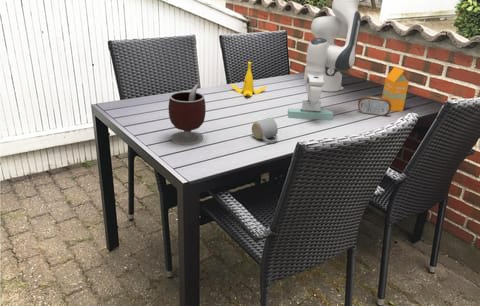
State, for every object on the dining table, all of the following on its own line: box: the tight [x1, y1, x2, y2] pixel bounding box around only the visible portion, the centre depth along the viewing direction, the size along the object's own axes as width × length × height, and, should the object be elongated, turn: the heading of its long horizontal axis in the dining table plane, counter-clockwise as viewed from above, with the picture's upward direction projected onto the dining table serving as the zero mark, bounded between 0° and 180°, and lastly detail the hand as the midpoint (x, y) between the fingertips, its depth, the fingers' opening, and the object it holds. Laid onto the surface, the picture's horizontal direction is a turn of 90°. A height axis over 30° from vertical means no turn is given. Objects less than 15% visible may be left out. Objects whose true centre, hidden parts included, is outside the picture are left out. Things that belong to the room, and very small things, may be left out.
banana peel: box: [230, 61, 267, 97], centre depth 220 cm, size 17×19×17 cm
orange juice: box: [381, 66, 410, 112], centre depth 206 cm, size 8×9×20 cm
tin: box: [357, 95, 391, 117], centre depth 198 cm, size 15×3×8 cm, turn 71°
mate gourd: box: [168, 83, 207, 146], centre depth 160 cm, size 16×14×20 cm
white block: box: [301, 99, 322, 112], centre depth 191 cm, size 8×2×8 cm, turn 88°
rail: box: [287, 107, 334, 121], centre depth 192 cm, size 5×20×3 cm, turn 88°
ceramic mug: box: [251, 117, 279, 144], centre depth 165 cm, size 11×8×8 cm
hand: (310, 106), depth 190 cm, fingers open, 8 cm apart
